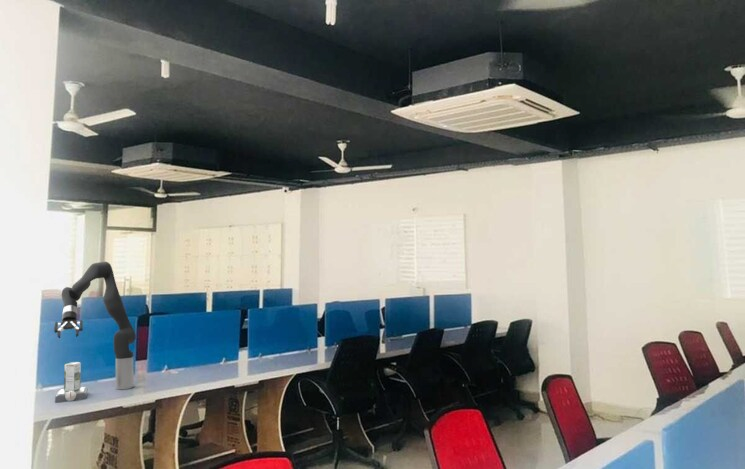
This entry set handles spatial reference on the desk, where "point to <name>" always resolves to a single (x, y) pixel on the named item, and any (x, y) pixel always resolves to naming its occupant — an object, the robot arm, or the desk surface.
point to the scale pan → (74, 391)
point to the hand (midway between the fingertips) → (68, 336)
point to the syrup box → (72, 376)
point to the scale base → (71, 396)
